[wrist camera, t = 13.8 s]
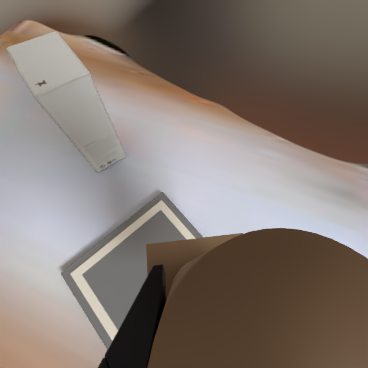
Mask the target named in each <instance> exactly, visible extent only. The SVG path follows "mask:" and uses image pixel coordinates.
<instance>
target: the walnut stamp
mask: <svg viewBox="0 0 368 368" xmlns="http://www.w3.org/2000/svg"><path fill="white" fill-rule="evenodd" d="M146 253H147V276H148V274H149V272H150V270H151V268H152V267H153V265H156V264H163V265H164V269H165V277H166V291H167V301H166V304H165V307H164V310H163V313H162V316H161V319H160V323H159V326H158V329H157V332H156V335H155V338H154V341H153V346H152V350H151V355H150V359H149V364H148V368H368V259H367V258H366V257H364V256H363V255H361V254H359V253H358V252H356V251H354V250H353V249H351V248H349V247H347V246H345V245H343V244H341V243H339V242H337V241H335V240H333V239H330V238H327V237H324V236H321V235H319V234H316V233H312V232H307V231H302V230H297V229H286V228H274V229H262V230H257V231H252V232H248V233H245V234H243V233H240V234H231V235H222V236H214V237H205V238H196V239H187V240H179V241H170V242H161V243H152V244H146Z"/></svg>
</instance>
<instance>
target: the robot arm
mask: <svg viewBox="0 0 368 368" xmlns="http://www.w3.org/2000/svg"><path fill="white" fill-rule="evenodd" d="M166 301H167V291H166V277H165V269H164V265H163V264H156V265H153V267H152V268H151V270H150V272H149V274H148V276H147V278H146V280H145V281H144V283H143V285H142V287H141V289H140V291H139V293H138V294H137V296H136V298H135V300H134V302H133V304H132V306H131V307H130V309H129V311H128V313H127V315H126V317H125V319H124V320H123V322H122V324H121V326H120V328H119V330H118V332H117V333H116V335H115V337H114V339H113V341H112V343H111V345H110V346H109V348H108V350H107V352H106V354H105V358H103V359H102V361H101V363H100V365H99V367H98V368H148V364H149V359H150V355H151V350H152V346H153V341H154V338H155V335H156V332H157V329H158V326H159V323H160V319H161V316H162V313H163V310H164V307H165V304H166Z"/></svg>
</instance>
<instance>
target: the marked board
mask: <svg viewBox="0 0 368 368" xmlns="http://www.w3.org/2000/svg"><path fill="white" fill-rule="evenodd" d="M196 238H203V237H202V236H201V234H200V233H199V232H198V231H197V230H196V229H195V228H194V227H193V226H192V224H191V223H190V222H189V221H188V220H187V219H186V218H185V217H184V215H183V214H182V213H181V212H180V211H179V210H178V209H177V208H176V207H175V205H174V204H173V203H172V202H171V201H170V200H169V199H168V198H167V196H166V195H165V194H164V193H163V192H162V193H161V194H160V195H158V196H157V197H156V198H155V199H153V200H152V201H151V202H149V203H148V204H147V205H146V206H144V207H143V208H142V209H141V210H139V211H138V212H137V213H136V214H134V215H133V216H132V217H131V218H129V219H128V220H127V221H126V222H124V223H123V224H122V225H121V226H119V227H118V228H117V229H115V230H114V231H113V232H112V233H110V234H109V235H108V236H107V237H105V238H104V239H103V240H102V241H100V242H99V243H98V244H97V245H95V246H94V247H93V248H92V249H90V250H89V251H88V252H87V253H85V254H84V255H83V256H82V257H80V258H79V259H78V260H76V261H75V262H74V263H73V264H71V265H70V266H69V267H68V268H66V269H65V270H64V271H63V272H61V275H62V276H63V278H64V280H65V281H66V283H67V284H68V286H69V288H70V289H71V291H72V293H73V294H74V296H75V297H76V299H77V301H78V302H79V304H80V306H81V307H82V309H83V310H84V312H85V314H86V315H87V317H88V319H89V320H90V322H91V323H92V325H93V327H94V328H95V330H96V332H97V333H98V335H99V336H100V338H101V340H102V341H103V343H104V345H105V346H106V348H107V349H108V348H109V346H110V345H111V343H112V341H113V339H114V337H115V335H116V333H117V332H118V330H119V328H120V326H121V324H122V322H123V320H124V319H125V317H126V315H127V313H128V311H129V309H130V307H131V306H132V304H133V302H134V300H135V298H136V296H137V294H138V293H139V291H140V289H141V287H142V285H143V283H144V281H145V280H146V278H147V253H146V244H152V243H161V242H170V241H179V240H187V239H196Z"/></svg>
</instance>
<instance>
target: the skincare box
mask: <svg viewBox="0 0 368 368" xmlns="http://www.w3.org/2000/svg"><path fill="white" fill-rule="evenodd" d="M7 52H8V53H9V55H10V57H11V59H12V60H13V62H14V64H15V66H16V68H17V70H18V72H19V73H20V75H21V76H22V78H23V80H24V81H25V83H26V84H27V86H28V88H29V89H30V91H31V93H32V94H33V96H34V97H35V99H36V100H37V101H38V102H39V104H40V105H41V106H42V107H43V109H44V110H45V111H46V112H47V113H48V115H49V116H50V117H51V118H52V119H53V120H54V121H55V123H56V124H57V125H58V126H59V127H60V129H61V130H62V131H63V132H64V133H65V135H66V136H67V137H68V138H69V139H70V141H71V142H72V143H73V144H74V145H75V146H76V148H77V149H78V150H79V151H80V152H81V154H82V155H83V156H84V157H85V159H86V160H87V161H88V162H89V163H90V165H91V166H92V167H93V168H94V169H95V171H96V172H100V171H102V170H104V169H105V168H107V167H109V166H110V165H112V164H114V163H116V162H117V161H119V160H121V159H123V158H125V157H126V153H125V151H124V149H123V147H122V144H121V142H120V140H119V138H118V136H117V133H116V131H115V129H114V126H113V124H112V122H111V120H110V118H109V115H108V113H107V111H106V109H105V107H104V104H103V102H102V100H101V98H100V95H99V93H98V91H97V89H96V86H95V84H94V82H93V80H92V78H91V75H90V73H89V71H88V70H87V69H86V67H85V66H84V65H83V63H82V62H81V61H80V60H79V58H78V57H77V56H76V55H75V53H74V52H73V51H72V50H71V49H70V47H69V46H68V45H67V44H66V42H65V41H64V40H63V39H62V37H61V36H60V35H59V33H58V32H57V31H54V32H51V33H48V34H45V35H42V36H40V37H37V38H34V39H31V40H28V41H25V42H22V43H19V44H16V45H13V46H10V47H7Z"/></svg>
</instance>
